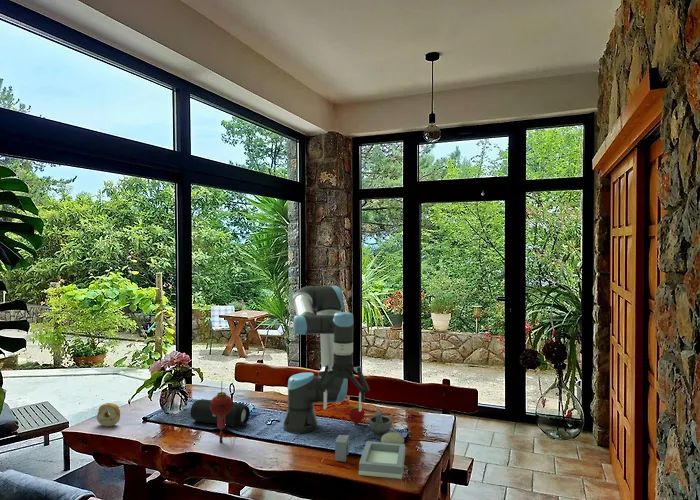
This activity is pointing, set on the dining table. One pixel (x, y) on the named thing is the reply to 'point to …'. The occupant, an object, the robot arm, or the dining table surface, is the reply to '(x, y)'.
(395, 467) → the grey rectangular tray
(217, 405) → the lantern
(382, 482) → the dining table surface
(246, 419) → the portable speaker
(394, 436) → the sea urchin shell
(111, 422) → the stone disc
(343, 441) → the grey upright block
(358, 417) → the decorative fruit
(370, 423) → the mortar and pestle
